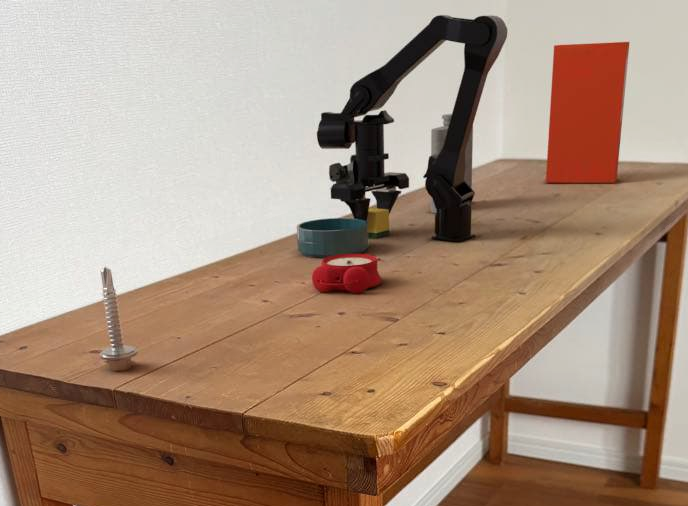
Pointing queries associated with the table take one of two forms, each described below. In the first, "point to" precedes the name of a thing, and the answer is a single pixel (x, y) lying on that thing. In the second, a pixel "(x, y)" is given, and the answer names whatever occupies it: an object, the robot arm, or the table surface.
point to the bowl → (332, 237)
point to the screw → (114, 328)
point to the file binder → (586, 112)
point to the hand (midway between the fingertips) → (371, 230)
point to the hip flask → (437, 145)
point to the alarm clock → (347, 273)
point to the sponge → (378, 222)
